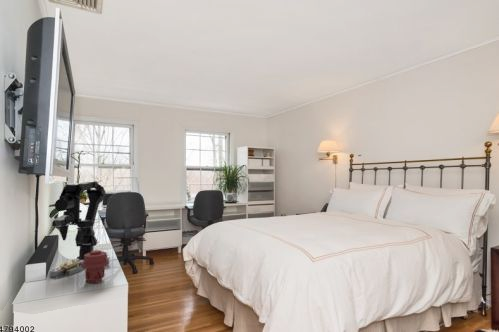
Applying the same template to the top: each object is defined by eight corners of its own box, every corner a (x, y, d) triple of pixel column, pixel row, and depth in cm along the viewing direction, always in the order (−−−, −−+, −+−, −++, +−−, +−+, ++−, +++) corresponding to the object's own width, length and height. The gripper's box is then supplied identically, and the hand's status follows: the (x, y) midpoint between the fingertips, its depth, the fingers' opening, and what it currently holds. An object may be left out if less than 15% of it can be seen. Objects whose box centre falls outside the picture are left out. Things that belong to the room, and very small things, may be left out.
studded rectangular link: (75, 265, 139) (75, 259, 139) (90, 266, 137) (90, 260, 137) (45, 276, 124) (45, 269, 124) (62, 278, 122) (62, 271, 122)
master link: (72, 269, 134) (72, 259, 134) (78, 269, 133) (78, 259, 134) (59, 274, 127) (59, 263, 128) (66, 274, 127) (66, 263, 127)
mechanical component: (105, 284, 115) (77, 287, 112) (110, 276, 124) (85, 278, 122) (106, 253, 115) (78, 255, 113) (111, 247, 125) (85, 249, 122)
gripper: (42, 210, 135) (41, 243, 134) (75, 211, 131) (75, 245, 130) (62, 207, 146) (61, 238, 145) (93, 208, 142) (93, 240, 141)
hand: (72, 240), depth 140 cm, fingers open, 9 cm apart
